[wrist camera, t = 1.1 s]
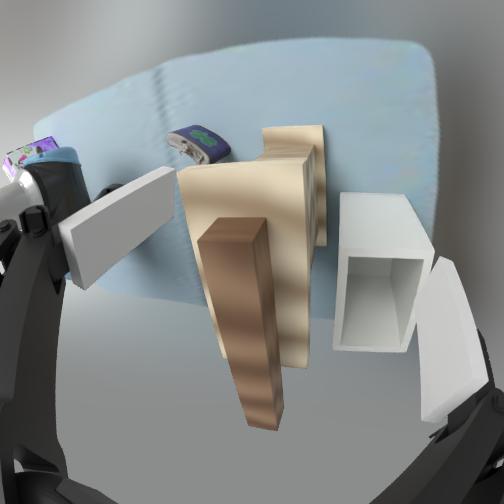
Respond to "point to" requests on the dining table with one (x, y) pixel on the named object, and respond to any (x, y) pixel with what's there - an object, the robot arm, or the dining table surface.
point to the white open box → (378, 272)
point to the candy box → (25, 155)
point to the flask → (199, 144)
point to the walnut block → (246, 312)
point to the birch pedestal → (270, 220)
